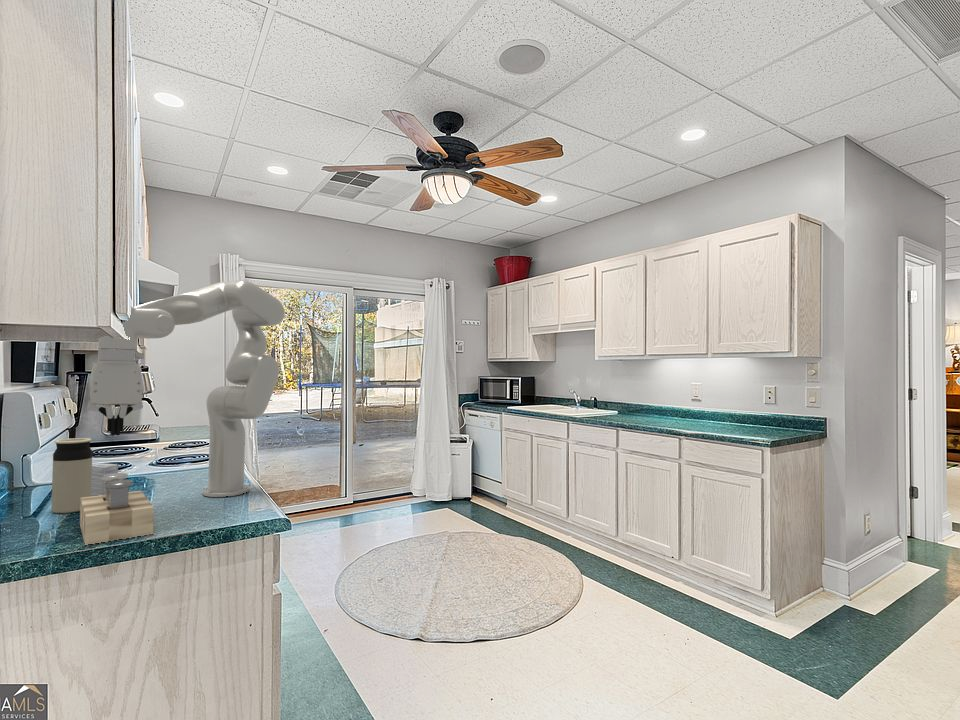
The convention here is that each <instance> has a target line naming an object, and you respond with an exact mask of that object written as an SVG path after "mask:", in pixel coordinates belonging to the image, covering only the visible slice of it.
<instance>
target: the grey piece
mask: <svg viewBox="0 0 960 720" xmlns="http://www.w3.org/2000/svg"><path fill="white" fill-rule="evenodd" d="M132 486H134V480H132V479H123V480H119V481H111V482H107V483H105V488H106V489H109V510H114V509H121V508H128V493H129V492H130V491H129V487H132Z"/></svg>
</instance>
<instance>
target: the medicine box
mask: <svg viewBox="0 0 960 720" xmlns="http://www.w3.org/2000/svg"><path fill="white" fill-rule="evenodd" d="M114 473H119V465H118V464H117V463H116V464H114V463H101V462H100V463H98V462H97V463H92V480H91V496H99V495H105V481H101V476H102V475H106V474H114Z"/></svg>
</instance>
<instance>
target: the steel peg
mask: <svg viewBox="0 0 960 720" xmlns="http://www.w3.org/2000/svg"><path fill="white" fill-rule="evenodd" d="M128 476H129V473H126V472H118V473H114V474H106V475H102V476H101V481H105V483H107V482H111V481H119V480H127V478H128ZM108 500H109V489H106V488H105V501H108Z"/></svg>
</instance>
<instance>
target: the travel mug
mask: <svg viewBox="0 0 960 720" xmlns="http://www.w3.org/2000/svg"><path fill="white" fill-rule="evenodd" d="M92 441H93V440H92V438H88V437H76V438H74V437H73V438H71V437H70V438H62V439H61V438H60V439H57V440H55V441H54V443H55V444H56V449H55V451H54V452H53V453H52V477H51V478H52V480H51V481H52V483H51V510H50V511H51V512H52V513H53V514H54V513H55V514H71V513H78V512H80V498H82V497H91V480H92V464H93V450H92V448H91V445H90V444H91V442H92Z"/></svg>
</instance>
